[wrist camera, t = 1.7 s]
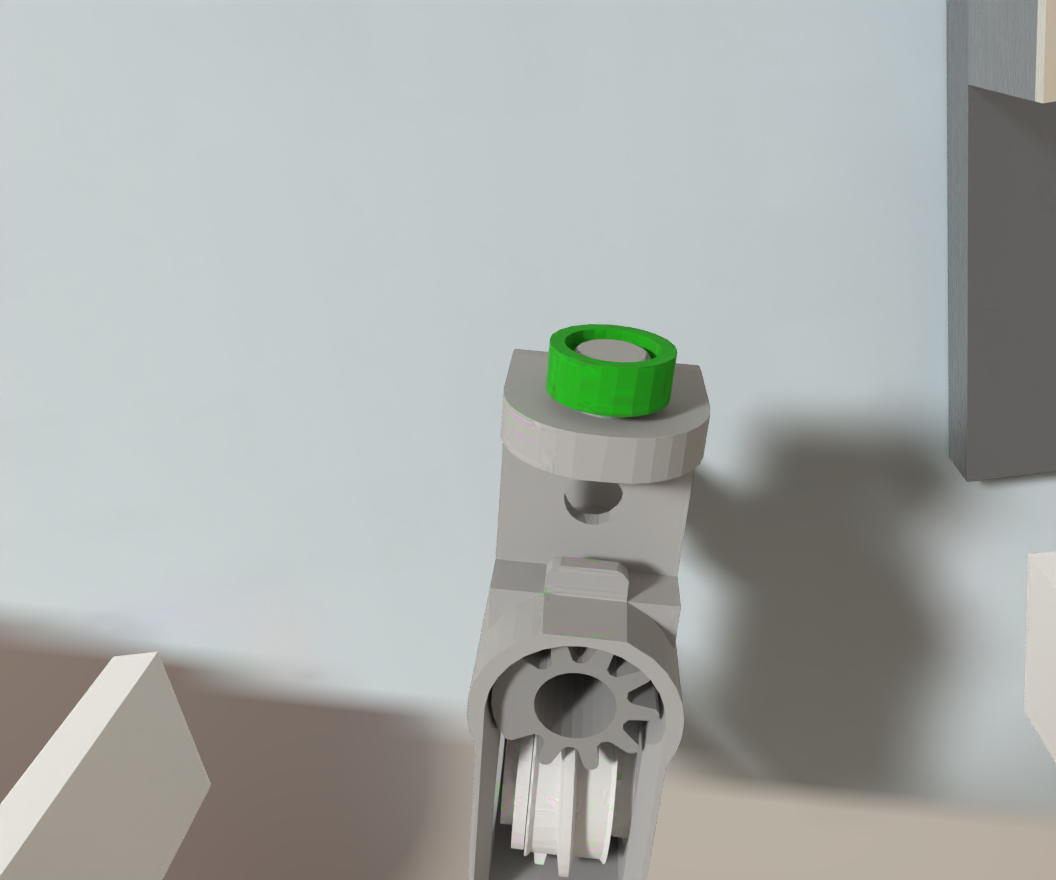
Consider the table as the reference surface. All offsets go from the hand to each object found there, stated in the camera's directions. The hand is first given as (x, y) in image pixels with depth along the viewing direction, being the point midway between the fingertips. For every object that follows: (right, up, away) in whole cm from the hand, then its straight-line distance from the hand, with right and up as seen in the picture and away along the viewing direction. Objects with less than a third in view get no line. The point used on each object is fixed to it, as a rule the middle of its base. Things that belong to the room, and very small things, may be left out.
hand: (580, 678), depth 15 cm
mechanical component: (+1, +4, +8) cm, 9 cm away
